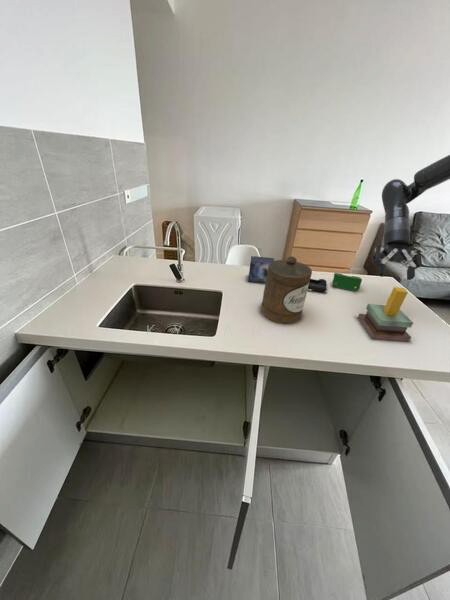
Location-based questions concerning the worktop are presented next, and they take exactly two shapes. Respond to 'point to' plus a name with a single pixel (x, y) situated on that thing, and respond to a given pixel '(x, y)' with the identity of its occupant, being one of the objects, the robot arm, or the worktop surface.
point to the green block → (346, 282)
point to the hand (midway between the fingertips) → (396, 277)
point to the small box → (259, 269)
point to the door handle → (317, 285)
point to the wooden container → (285, 290)
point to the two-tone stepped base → (385, 324)
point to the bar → (395, 301)
